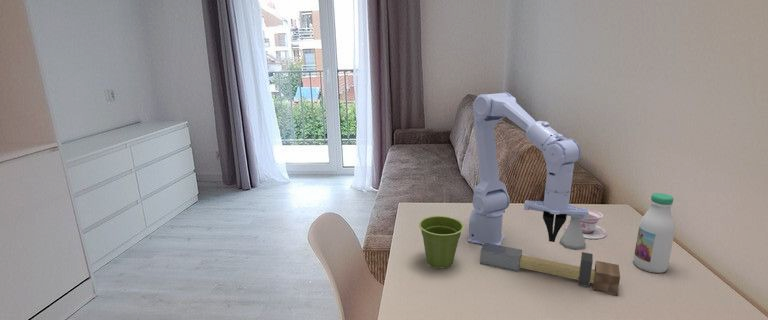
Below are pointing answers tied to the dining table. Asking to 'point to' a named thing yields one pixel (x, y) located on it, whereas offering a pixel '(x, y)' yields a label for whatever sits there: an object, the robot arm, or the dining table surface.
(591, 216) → the teacup
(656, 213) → the milk bottle
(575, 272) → the grey-banded wooden bar
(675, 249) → the dining table surface
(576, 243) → the flask
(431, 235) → the plant pot
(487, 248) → the sleeve
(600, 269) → the socket
